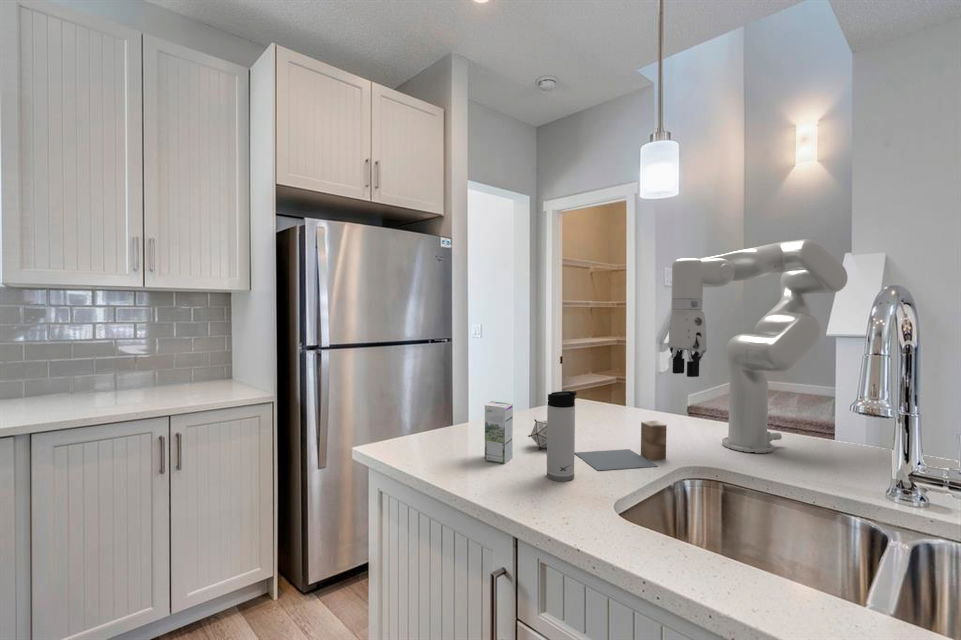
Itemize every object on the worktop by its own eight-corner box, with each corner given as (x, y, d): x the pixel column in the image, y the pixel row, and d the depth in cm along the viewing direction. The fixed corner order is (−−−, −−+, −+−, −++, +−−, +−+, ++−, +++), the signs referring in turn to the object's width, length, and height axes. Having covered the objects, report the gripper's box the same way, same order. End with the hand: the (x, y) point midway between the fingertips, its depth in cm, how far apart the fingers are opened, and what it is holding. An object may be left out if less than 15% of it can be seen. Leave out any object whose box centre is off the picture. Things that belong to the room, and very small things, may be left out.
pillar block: (656, 454, 130) (656, 420, 130) (665, 459, 126) (666, 424, 125) (640, 455, 129) (641, 421, 129) (650, 460, 125) (650, 425, 124)
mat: (629, 449, 134) (629, 449, 134) (657, 466, 120) (657, 465, 120) (574, 453, 130) (574, 452, 130) (597, 471, 116) (597, 470, 116)
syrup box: (513, 457, 126) (513, 401, 126) (504, 464, 121) (505, 406, 120) (493, 454, 129) (493, 400, 128) (483, 461, 123) (484, 404, 123)
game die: (550, 463, 133) (561, 440, 127) (521, 450, 135) (531, 427, 129) (558, 440, 140) (568, 417, 134) (530, 428, 142) (539, 405, 136)
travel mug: (569, 484, 108) (570, 394, 107) (542, 478, 112) (543, 391, 111) (579, 475, 113) (580, 389, 113) (553, 470, 117) (554, 387, 116)
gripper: (721, 306, 120) (720, 379, 121) (679, 305, 137) (678, 370, 138) (694, 306, 119) (693, 380, 119) (655, 305, 135) (654, 370, 136)
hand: (685, 374), depth 128 cm, fingers open, 5 cm apart
